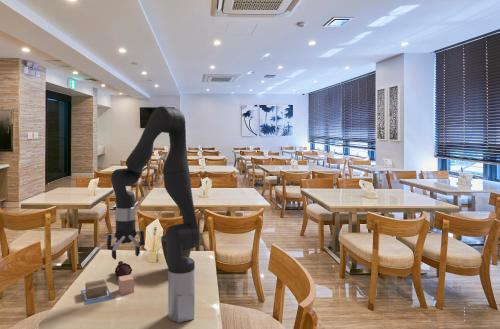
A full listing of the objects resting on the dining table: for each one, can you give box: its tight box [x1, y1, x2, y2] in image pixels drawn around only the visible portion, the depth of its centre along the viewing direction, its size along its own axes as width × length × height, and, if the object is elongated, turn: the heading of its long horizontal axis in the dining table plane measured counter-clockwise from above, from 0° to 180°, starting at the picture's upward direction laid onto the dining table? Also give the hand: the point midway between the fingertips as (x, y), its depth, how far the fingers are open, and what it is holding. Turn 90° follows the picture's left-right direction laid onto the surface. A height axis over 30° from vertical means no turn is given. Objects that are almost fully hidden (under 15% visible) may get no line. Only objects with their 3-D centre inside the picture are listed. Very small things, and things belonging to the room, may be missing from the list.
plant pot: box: [160, 233, 192, 267], centre depth 170 cm, size 15×15×16 cm
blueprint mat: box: [80, 286, 114, 306], centre depth 143 cm, size 14×10×1 cm
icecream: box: [114, 260, 133, 279], centre depth 160 cm, size 7×7×15 cm
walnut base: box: [84, 278, 108, 299], centre depth 143 cm, size 7×7×4 cm
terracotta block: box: [118, 274, 135, 296], centre depth 146 cm, size 5×5×6 cm
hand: (126, 257), depth 145 cm, fingers open, 8 cm apart
